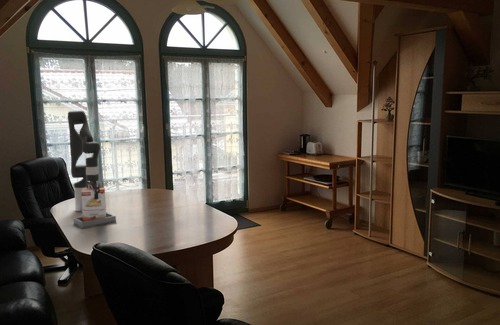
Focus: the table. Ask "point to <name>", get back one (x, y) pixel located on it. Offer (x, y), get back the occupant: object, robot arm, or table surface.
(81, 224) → the bin
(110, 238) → the table surface
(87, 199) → the cracker box
